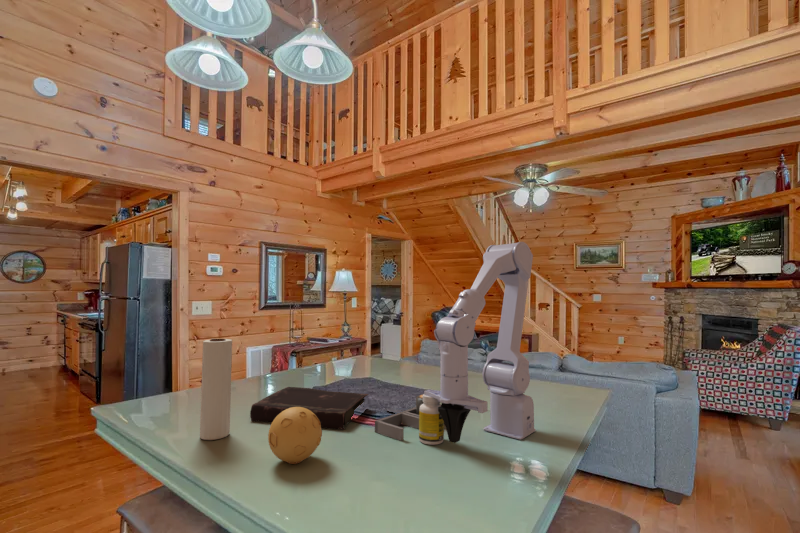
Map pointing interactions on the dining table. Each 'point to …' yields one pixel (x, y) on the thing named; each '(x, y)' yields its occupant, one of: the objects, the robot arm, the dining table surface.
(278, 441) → the stress ball
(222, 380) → the paper towel roll
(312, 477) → the dining table surface
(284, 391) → the diary
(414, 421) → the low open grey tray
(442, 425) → the supplement bottle
